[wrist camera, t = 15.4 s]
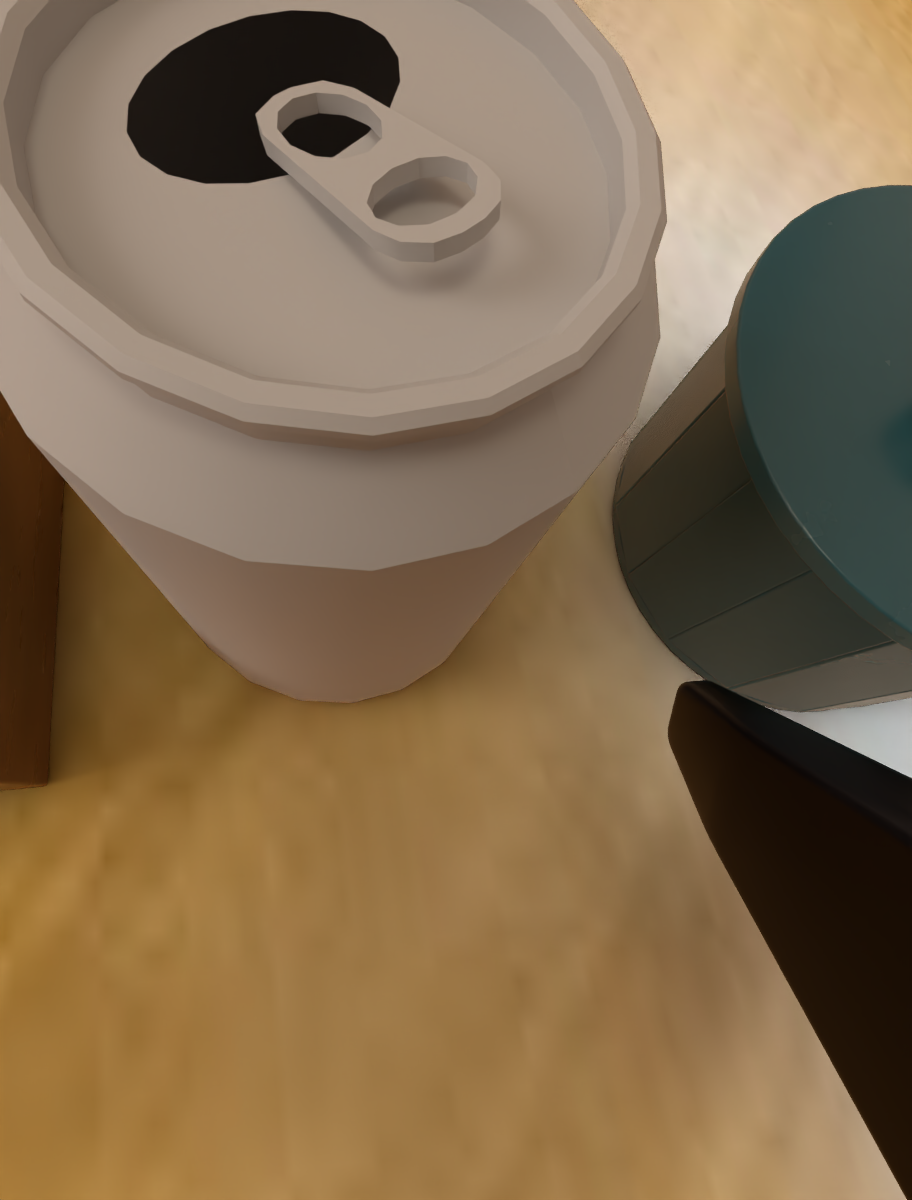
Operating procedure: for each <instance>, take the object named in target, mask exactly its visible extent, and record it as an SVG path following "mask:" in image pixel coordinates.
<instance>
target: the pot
mask: <svg viewBox="0 0 912 1200" xmlns="http://www.w3.org/2000/svg"><path fill="white" fill-rule="evenodd" d="M727 327H728V325H727ZM727 327H726V328H725V329H724V330H723V332H722V333H721V334H720V335H719V336H718V338H717V339H716V340H715V341H714V342H713V344H712V345H711V346H710V347H709V349H708V350H707V351H706V352H705V353H704V355H703V356H702V357H701V358H700V359H699V361H698V362H697V363H696V364H695V366H694V367H693V368H692V369H691V370H690V372H689V373H688V374H687V375H686V377H685V378H684V379H683V380H682V381H681V383H680V384H679V385H678V386H677V387H676V389H675V390H674V391H673V392H672V394H671V395H670V396H669V397H668V398H667V400H666V401H665V402H664V403H663V404H662V406H661V407H660V408H659V409H658V411H657V412H656V413H655V414H654V415H653V417H652V418H651V419H650V420H649V421H648V423H647V424H646V425H645V426H644V428H643V429H642V430H641V431H640V432H639V434H638V435H637V436H636V437H635V438H634V440H633V441H632V442H631V445H630V446H629V450H628V452H627V455H626V457H625V459H624V461H623V463H622V466H621V469H620V472H619V476H618V479H617V483H616V489H615V495H614V503H613V527H614V536H615V545H616V549H617V553H618V557H619V561H620V565H621V569H622V571H623V574H624V577H625V579H626V582H627V584H628V587H629V590H630V592H631V593H632V595H633V597H634V599H635V601H636V603H637V605H638V607H639V609H640V611H641V612H642V614H643V615H644V617H645V618H646V620H647V621H648V623H649V624H650V625H651V627H652V628H653V630H654V631H655V633H656V634H657V635H658V636H659V637H660V638H661V639H662V641H663V642H664V643H665V644H666V645H667V646H668V648H669V649H670V650H671V651H672V652H673V653H674V654H675V655H676V656H678V657H679V658H680V659H681V660H682V661H683V662H684V663H685V664H686V665H687V666H688V667H690V668H691V669H692V670H694V671H695V672H696V673H698V674H699V675H701V676H702V677H703V678H705V679H706V680H708V681H712V682H715V683H717V684H719V685H721V686H723V687H725V688H727V689H729V690H731V691H733V692H735V693H737V694H739V695H741V696H743V697H745V698H747V699H749V700H752V701H754V702H756V703H758V704H760V705H762V706H766V707H770V708H774V709H779V710H788V711H795V712H814V711H825V710H831V709H840V708H851V707H861V706H867V705H873V704H878V703H884V702H890V701H895V700H901V699H907V698H912V651H911V650H909V649H907V648H906V647H904V646H902V645H900V644H898V643H897V642H895V641H893V640H892V639H890V638H889V637H887V636H886V635H885V634H883V633H882V632H880V631H879V630H878V629H876V628H875V627H874V626H872V625H871V624H869V623H868V622H867V621H865V620H864V619H862V618H861V617H860V616H858V615H857V614H856V613H855V612H854V611H853V610H852V609H851V608H849V607H848V606H847V605H846V604H845V603H844V602H843V601H842V600H840V599H839V598H838V597H837V596H836V595H835V594H834V593H833V592H831V591H830V590H829V589H828V588H827V587H826V586H825V585H824V583H823V582H822V581H821V580H820V579H819V578H818V577H817V576H816V575H815V574H814V572H813V571H812V570H811V569H810V568H809V567H808V566H807V565H806V564H805V563H804V561H803V560H802V559H801V558H800V557H799V555H798V554H797V553H796V551H795V550H794V549H793V547H792V546H791V545H790V543H789V542H788V540H787V539H786V538H785V536H784V535H783V534H782V532H781V531H780V530H779V528H778V527H777V525H776V524H775V522H774V520H773V519H772V517H771V515H770V513H769V512H768V510H767V508H766V507H765V505H764V503H763V501H762V500H761V498H760V496H759V494H758V493H757V491H756V489H755V486H754V484H753V482H752V480H751V477H750V475H749V473H748V471H747V468H746V466H745V464H744V461H743V459H742V457H741V454H740V451H739V447H738V444H737V441H736V437H735V434H734V431H733V428H732V424H731V420H730V415H729V409H728V403H727V397H726V391H725V372H724V352H725V344H726V335H727Z"/></svg>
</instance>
